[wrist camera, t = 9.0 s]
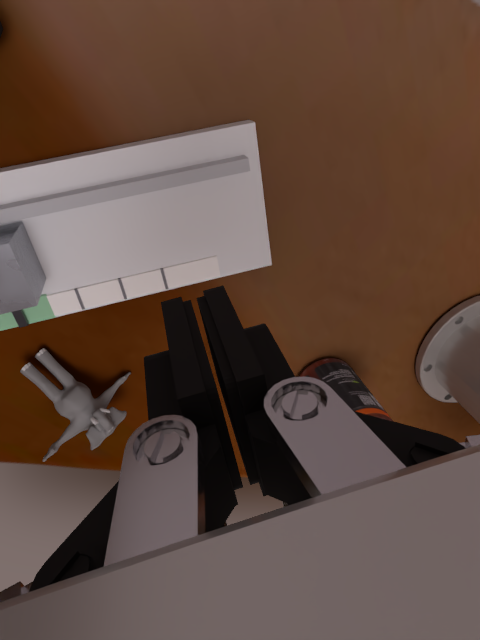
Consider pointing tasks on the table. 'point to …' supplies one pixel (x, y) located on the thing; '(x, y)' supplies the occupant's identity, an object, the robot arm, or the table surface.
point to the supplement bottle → (346, 386)
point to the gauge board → (139, 217)
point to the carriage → (19, 272)
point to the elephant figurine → (76, 403)
